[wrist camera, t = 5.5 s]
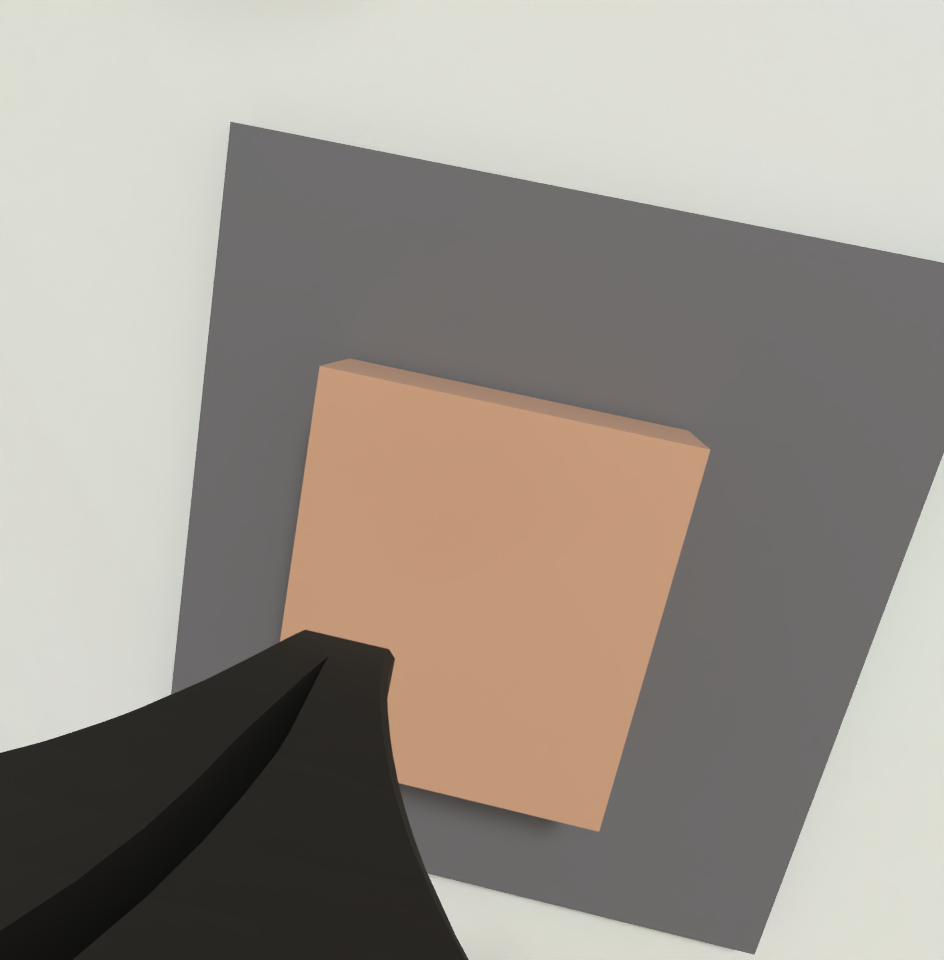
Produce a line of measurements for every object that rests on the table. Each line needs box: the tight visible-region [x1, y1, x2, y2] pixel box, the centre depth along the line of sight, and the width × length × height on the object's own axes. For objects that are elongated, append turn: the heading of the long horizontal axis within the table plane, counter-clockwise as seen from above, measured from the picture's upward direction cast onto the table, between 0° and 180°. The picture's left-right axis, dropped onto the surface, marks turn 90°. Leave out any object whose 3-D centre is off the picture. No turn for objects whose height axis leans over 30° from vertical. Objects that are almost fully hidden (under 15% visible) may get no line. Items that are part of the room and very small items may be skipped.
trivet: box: [171, 122, 944, 954], centre depth 16 cm, size 16×15×1 cm
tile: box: [280, 358, 710, 832], centre depth 15 cm, size 8×2×7 cm
